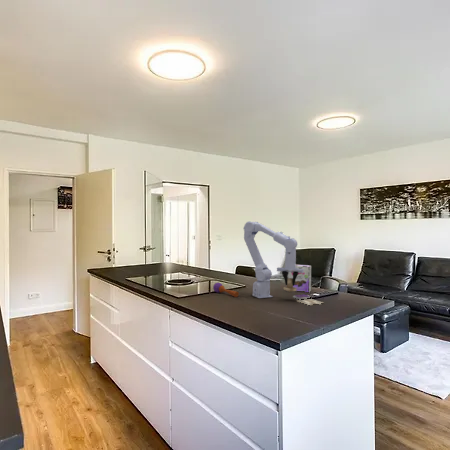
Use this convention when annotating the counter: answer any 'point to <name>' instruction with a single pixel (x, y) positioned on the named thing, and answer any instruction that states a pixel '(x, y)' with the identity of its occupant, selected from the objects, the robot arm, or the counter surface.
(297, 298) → the ink pad
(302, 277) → the candy box
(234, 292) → the maraca
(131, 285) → the counter surface
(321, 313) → the counter surface
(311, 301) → the board
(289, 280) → the stamp
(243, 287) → the counter surface
